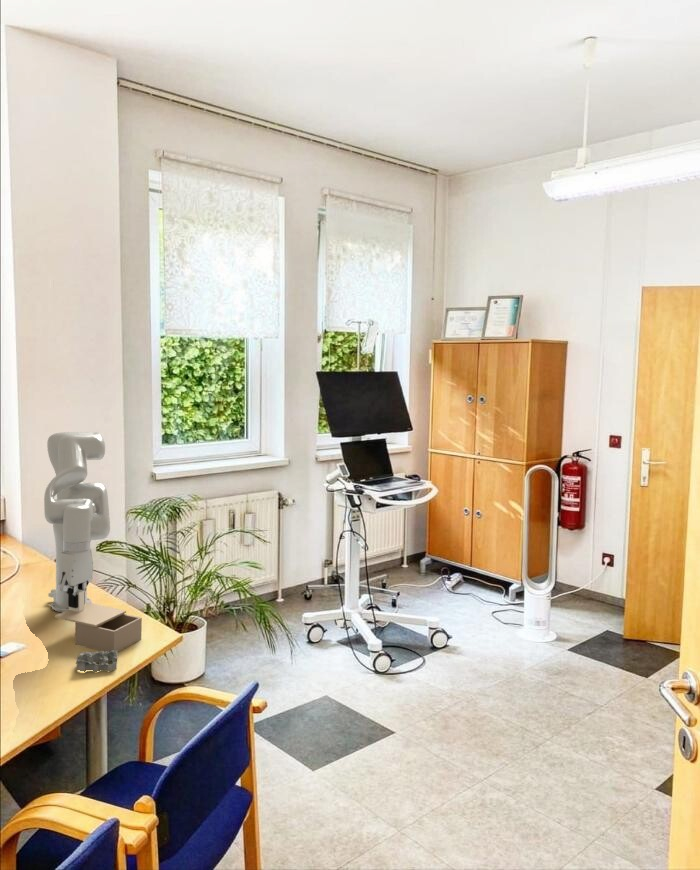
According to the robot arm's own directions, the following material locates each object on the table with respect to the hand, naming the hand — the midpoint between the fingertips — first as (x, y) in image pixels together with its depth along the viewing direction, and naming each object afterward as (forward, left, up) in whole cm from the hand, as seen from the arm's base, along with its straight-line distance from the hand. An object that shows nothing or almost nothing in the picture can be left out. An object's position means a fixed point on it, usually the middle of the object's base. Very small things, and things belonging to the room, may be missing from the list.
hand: (76, 605), depth 212 cm
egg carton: (+21, -15, -9) cm, 27 cm away
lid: (+6, 0, -2) cm, 6 cm away
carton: (+12, 0, -9) cm, 15 cm away
